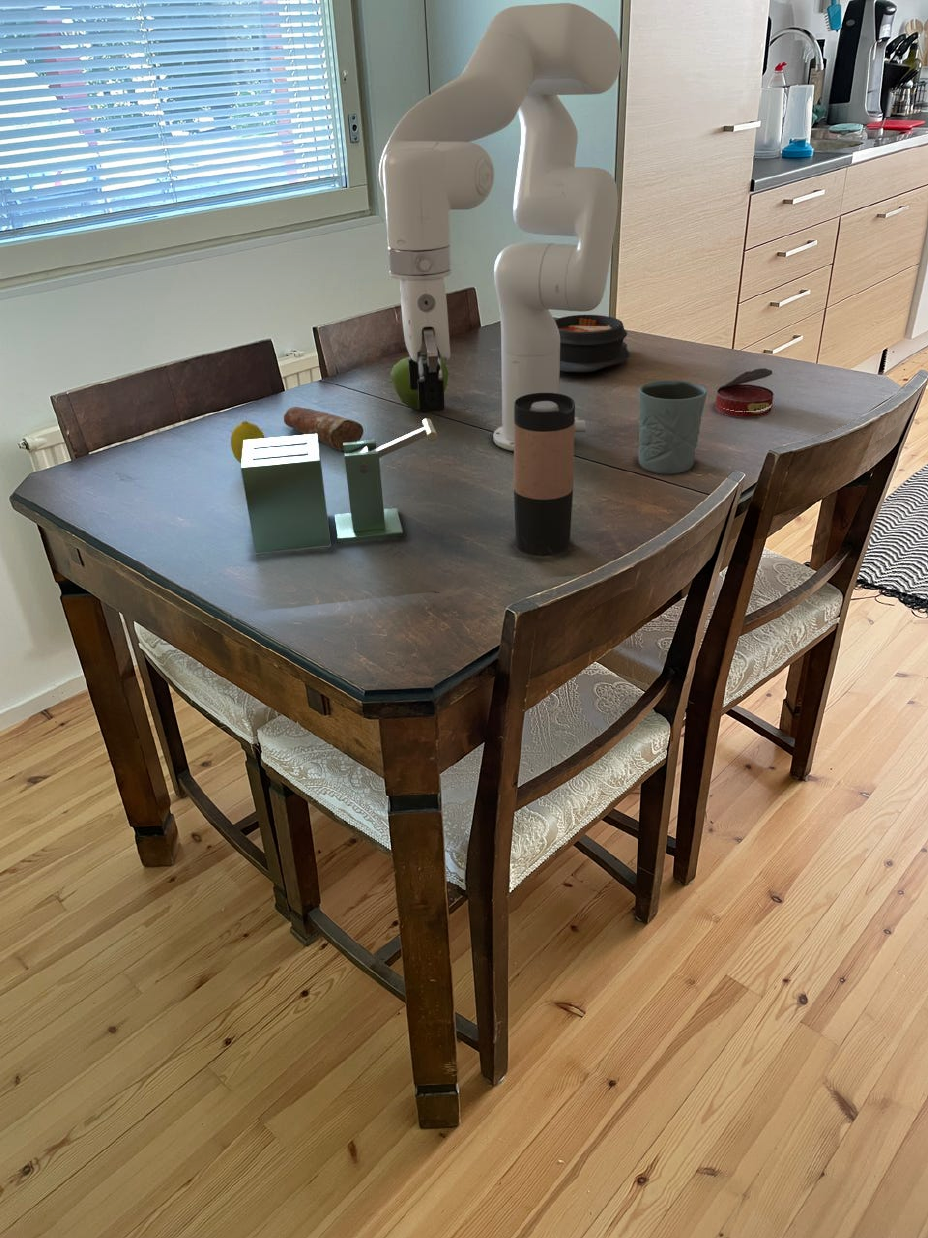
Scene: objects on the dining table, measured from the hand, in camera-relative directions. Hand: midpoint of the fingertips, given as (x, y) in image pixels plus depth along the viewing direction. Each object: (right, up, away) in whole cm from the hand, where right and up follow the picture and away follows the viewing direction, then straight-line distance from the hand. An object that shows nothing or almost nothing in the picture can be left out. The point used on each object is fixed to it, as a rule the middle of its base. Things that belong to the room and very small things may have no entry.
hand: (426, 399), depth 121 cm
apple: (-3, +11, +53) cm, 54 cm away
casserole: (+30, +25, +74) cm, 84 cm away
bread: (-21, +2, +40) cm, 45 cm away
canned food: (+56, +9, +46) cm, 73 cm away
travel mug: (+15, -19, +2) cm, 25 cm away
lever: (-4, -7, +3) cm, 9 cm away
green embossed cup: (+37, -4, +26) cm, 46 cm away
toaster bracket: (-9, -16, +9) cm, 20 cm away
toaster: (-19, -18, +7) cm, 27 cm away
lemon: (-30, -4, +30) cm, 42 cm away
